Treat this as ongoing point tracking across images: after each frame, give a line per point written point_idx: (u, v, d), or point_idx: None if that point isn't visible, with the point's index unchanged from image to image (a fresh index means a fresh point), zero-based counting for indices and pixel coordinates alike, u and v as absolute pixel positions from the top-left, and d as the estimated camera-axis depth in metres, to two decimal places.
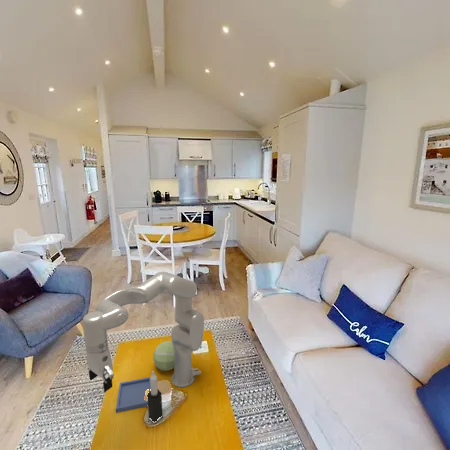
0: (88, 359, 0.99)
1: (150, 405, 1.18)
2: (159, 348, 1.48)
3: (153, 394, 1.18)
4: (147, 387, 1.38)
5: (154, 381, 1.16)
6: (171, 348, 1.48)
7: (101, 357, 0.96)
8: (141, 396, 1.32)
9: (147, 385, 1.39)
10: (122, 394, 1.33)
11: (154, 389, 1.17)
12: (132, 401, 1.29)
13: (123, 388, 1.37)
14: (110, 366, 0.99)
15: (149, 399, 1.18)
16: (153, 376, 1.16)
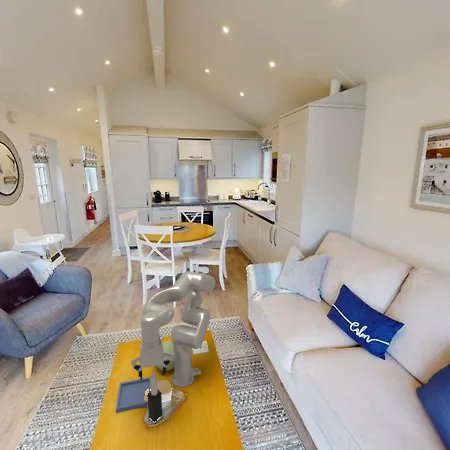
0: (145, 358, 1.12)
1: (150, 405, 1.18)
2: None
3: (153, 394, 1.18)
4: (147, 387, 1.38)
5: (154, 381, 1.16)
6: (171, 348, 1.48)
7: (162, 346, 1.14)
8: (141, 396, 1.32)
9: (147, 385, 1.39)
10: (122, 394, 1.33)
11: (154, 389, 1.17)
12: (132, 401, 1.29)
13: (123, 388, 1.37)
14: None
15: (149, 399, 1.18)
16: (153, 376, 1.16)
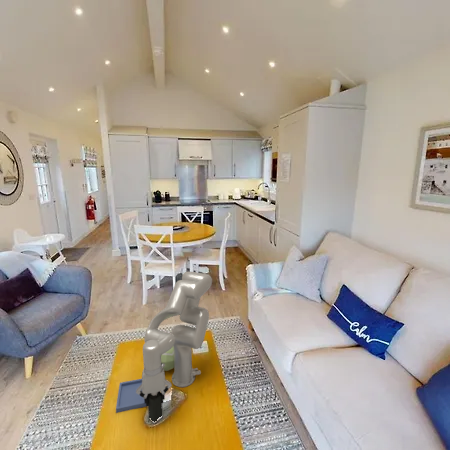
0: (147, 385, 1.15)
1: (150, 405, 1.18)
2: None
3: (153, 394, 1.18)
4: None
5: None
6: (171, 348, 1.48)
7: (163, 373, 1.17)
8: None
9: None
10: (122, 394, 1.33)
11: None
12: (132, 401, 1.29)
13: (123, 388, 1.37)
14: None
15: (149, 399, 1.18)
16: None
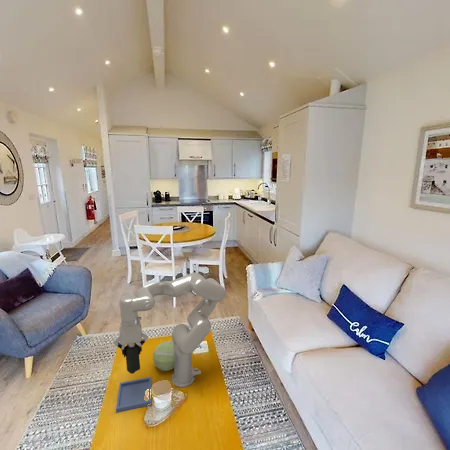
0: (124, 336, 1.23)
1: (127, 356, 1.26)
2: (159, 348, 1.48)
3: (130, 346, 1.25)
4: (147, 387, 1.38)
5: None
6: (171, 348, 1.48)
7: (140, 325, 1.25)
8: (141, 396, 1.32)
9: (147, 385, 1.39)
10: (122, 394, 1.33)
11: None
12: (132, 401, 1.29)
13: (123, 388, 1.37)
14: None
15: (126, 350, 1.26)
16: None
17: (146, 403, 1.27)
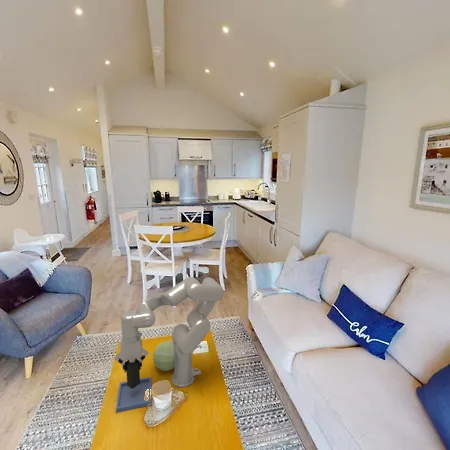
0: (125, 352, 1.25)
1: (128, 371, 1.28)
2: (159, 348, 1.48)
3: (131, 361, 1.28)
4: (147, 387, 1.38)
5: None
6: (171, 348, 1.48)
7: (140, 341, 1.27)
8: (141, 396, 1.32)
9: (147, 385, 1.39)
10: (122, 394, 1.33)
11: None
12: (132, 401, 1.29)
13: (123, 388, 1.37)
14: (142, 347, 1.31)
15: (127, 366, 1.28)
16: None
17: (146, 403, 1.27)
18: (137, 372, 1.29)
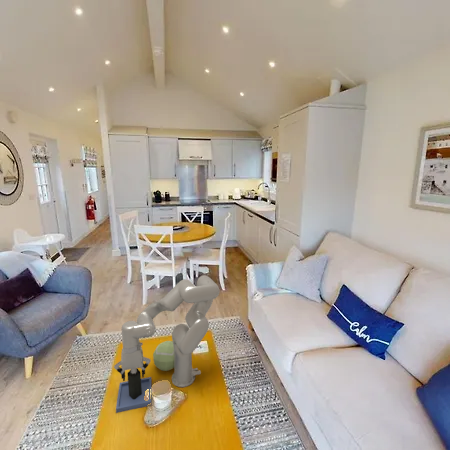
0: (126, 361, 1.26)
1: (130, 382, 1.30)
2: (159, 348, 1.48)
3: (132, 372, 1.29)
4: (147, 387, 1.38)
5: None
6: (171, 348, 1.48)
7: (141, 351, 1.28)
8: (141, 396, 1.32)
9: (147, 385, 1.39)
10: (122, 394, 1.33)
11: None
12: (132, 401, 1.29)
13: (123, 388, 1.37)
14: (143, 357, 1.32)
15: (129, 377, 1.29)
16: None
17: (146, 403, 1.27)
18: (139, 383, 1.31)
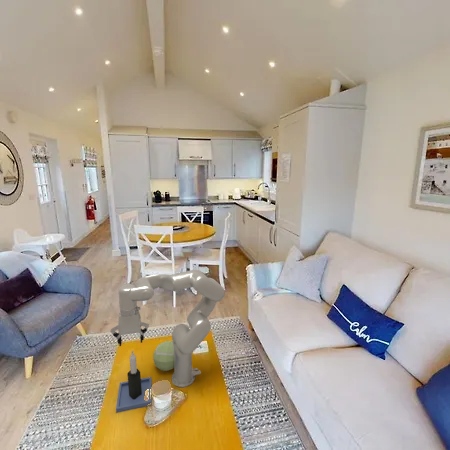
0: (123, 325, 1.22)
1: (130, 382, 1.29)
2: (159, 348, 1.48)
3: (132, 372, 1.29)
4: (147, 387, 1.38)
5: (133, 360, 1.28)
6: (171, 348, 1.48)
7: (139, 315, 1.24)
8: (141, 396, 1.32)
9: (147, 385, 1.39)
10: (122, 394, 1.33)
11: (133, 368, 1.29)
12: (132, 401, 1.29)
13: (123, 388, 1.37)
14: None
15: (129, 377, 1.29)
16: (132, 356, 1.28)
17: (146, 403, 1.27)
18: (139, 383, 1.31)
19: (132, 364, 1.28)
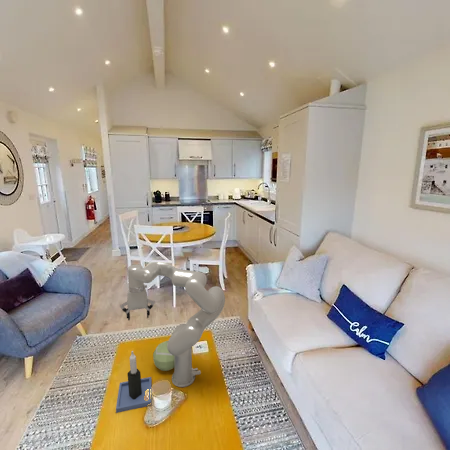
0: (131, 301, 1.36)
1: (130, 382, 1.29)
2: (159, 348, 1.48)
3: (132, 372, 1.29)
4: (147, 387, 1.38)
5: (133, 360, 1.28)
6: None
7: (145, 293, 1.38)
8: (141, 396, 1.32)
9: (147, 385, 1.39)
10: (122, 394, 1.33)
11: (133, 368, 1.29)
12: (132, 401, 1.29)
13: (123, 388, 1.37)
14: None
15: (129, 377, 1.29)
16: (132, 356, 1.28)
17: (146, 403, 1.27)
18: (139, 383, 1.31)
19: (132, 364, 1.28)
